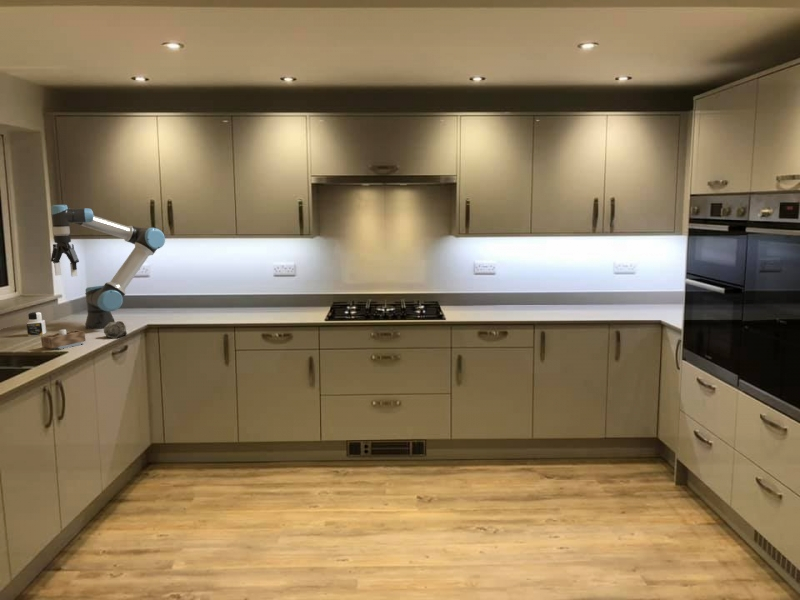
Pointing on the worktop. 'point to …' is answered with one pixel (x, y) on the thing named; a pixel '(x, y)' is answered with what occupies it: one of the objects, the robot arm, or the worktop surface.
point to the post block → (63, 332)
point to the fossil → (115, 330)
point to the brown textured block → (63, 339)
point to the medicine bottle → (36, 324)
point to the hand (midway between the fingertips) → (66, 275)
